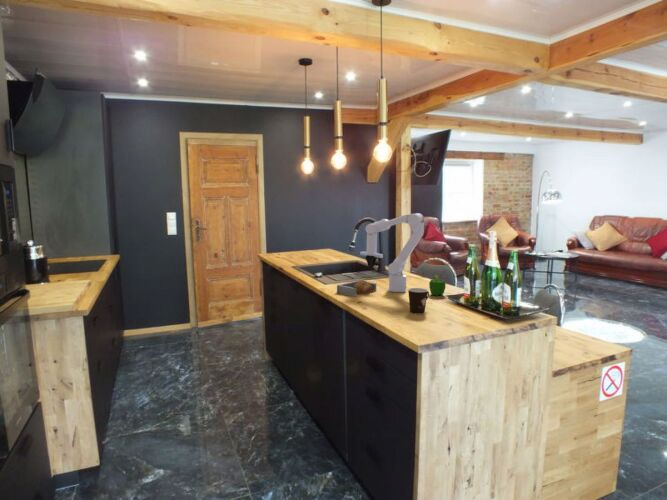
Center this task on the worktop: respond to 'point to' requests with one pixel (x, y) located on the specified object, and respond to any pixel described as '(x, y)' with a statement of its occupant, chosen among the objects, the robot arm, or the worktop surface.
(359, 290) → the bread roll
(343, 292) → the box
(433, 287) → the bell pepper
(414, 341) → the worktop surface
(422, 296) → the coffee mug
